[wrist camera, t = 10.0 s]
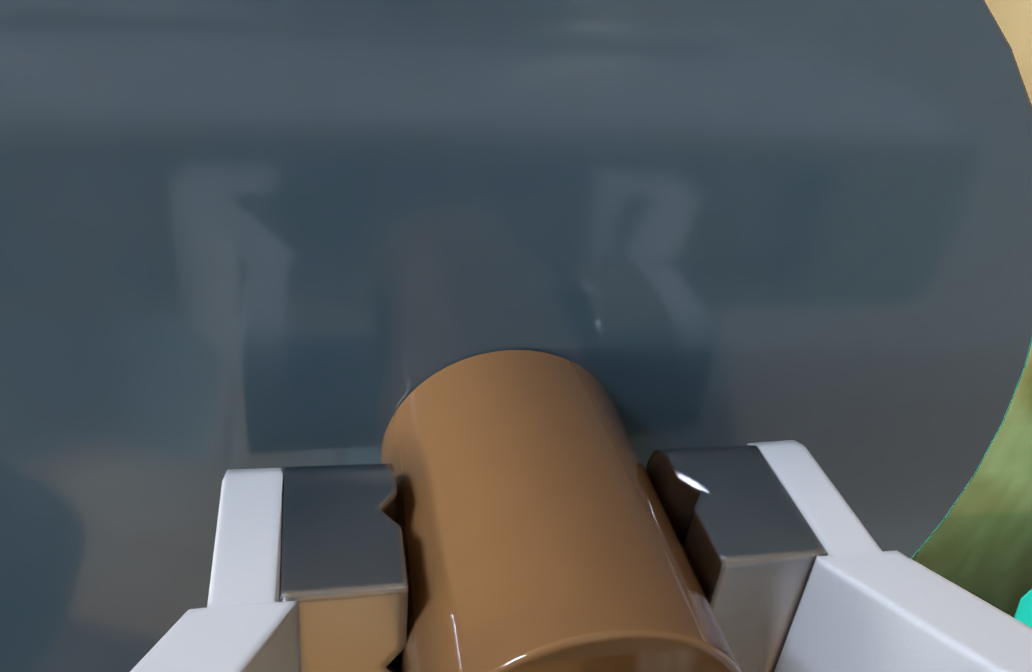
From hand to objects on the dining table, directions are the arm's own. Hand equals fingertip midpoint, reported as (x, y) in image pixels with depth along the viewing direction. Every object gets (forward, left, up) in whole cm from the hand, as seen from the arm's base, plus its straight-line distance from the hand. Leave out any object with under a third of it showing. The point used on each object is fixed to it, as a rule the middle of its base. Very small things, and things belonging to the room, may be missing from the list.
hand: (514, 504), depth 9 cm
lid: (0, 0, -2) cm, 2 cm away
